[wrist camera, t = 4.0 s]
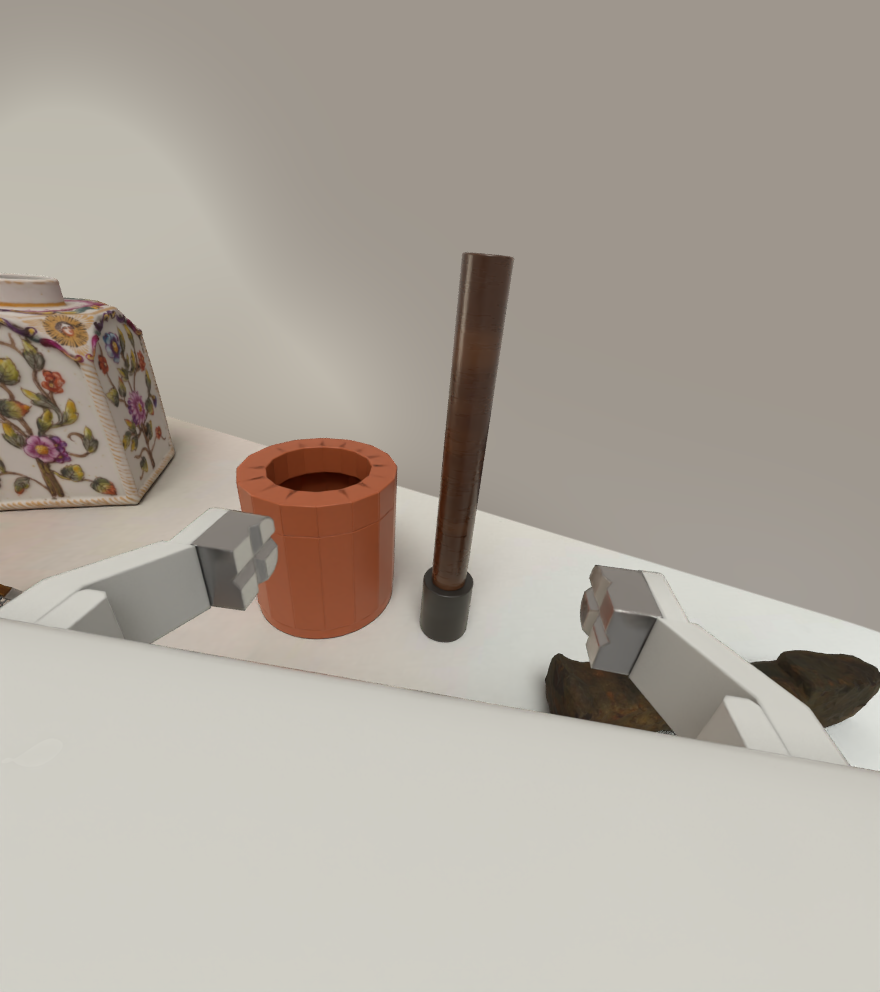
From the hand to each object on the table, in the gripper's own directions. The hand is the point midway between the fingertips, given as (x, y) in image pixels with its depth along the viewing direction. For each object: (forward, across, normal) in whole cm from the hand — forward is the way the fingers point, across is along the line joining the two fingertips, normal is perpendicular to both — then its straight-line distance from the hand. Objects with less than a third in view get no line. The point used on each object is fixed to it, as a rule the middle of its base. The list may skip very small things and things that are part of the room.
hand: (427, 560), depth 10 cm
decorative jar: (+23, -36, -15) cm, 46 cm away
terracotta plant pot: (+14, -8, -15) cm, 22 cm away
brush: (+12, 0, -15) cm, 19 cm away
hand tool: (+9, +16, -15) cm, 24 cm away
